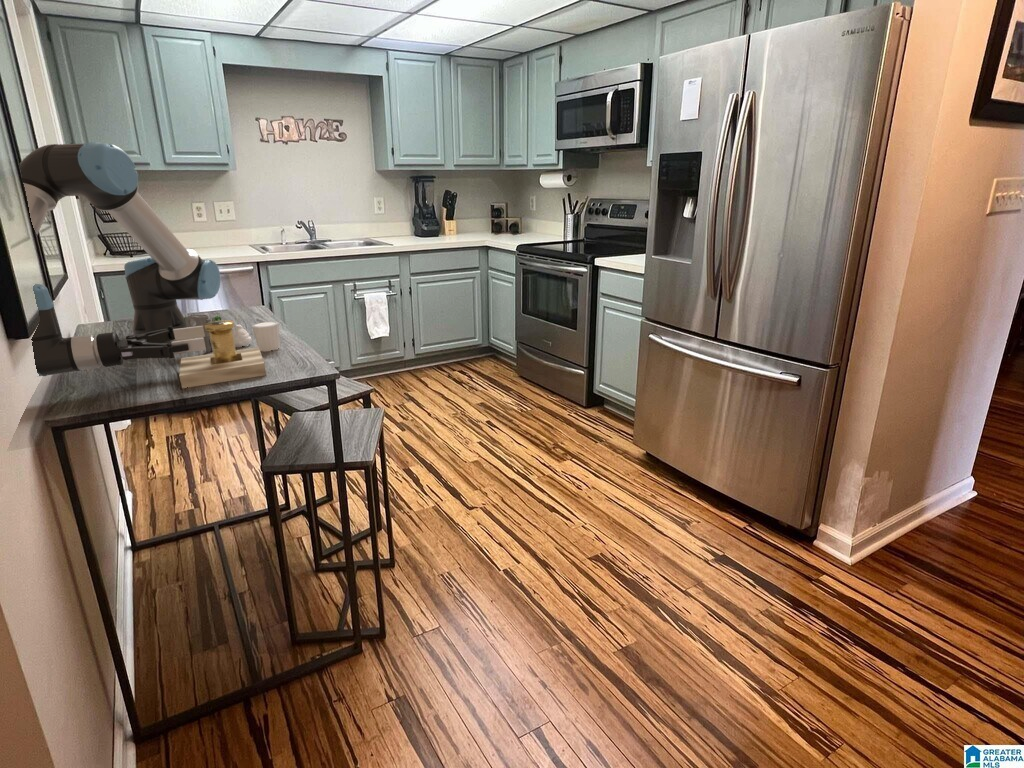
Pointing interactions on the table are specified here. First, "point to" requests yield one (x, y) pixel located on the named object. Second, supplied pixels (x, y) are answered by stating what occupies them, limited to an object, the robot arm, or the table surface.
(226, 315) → the table surface
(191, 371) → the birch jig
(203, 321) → the mechanical component
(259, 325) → the white cup
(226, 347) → the brass sleeve
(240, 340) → the garlic bulb
